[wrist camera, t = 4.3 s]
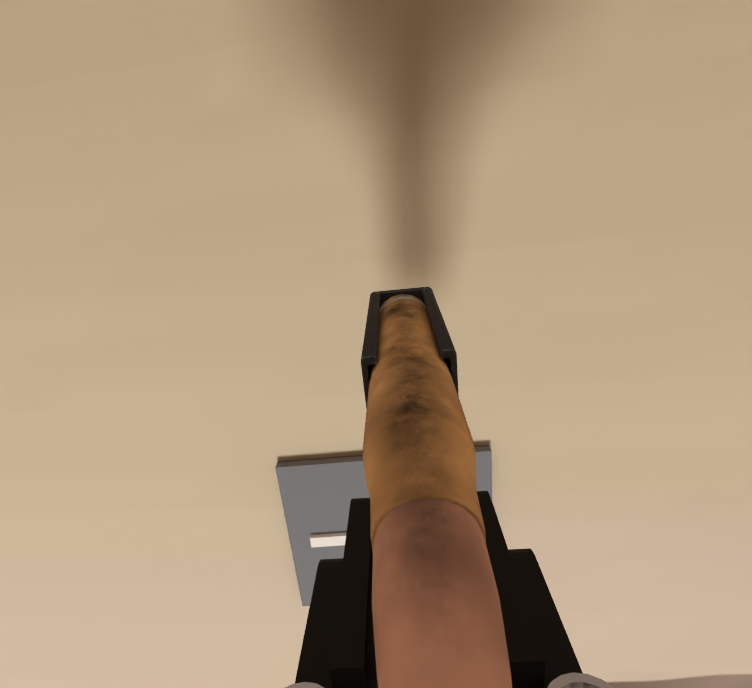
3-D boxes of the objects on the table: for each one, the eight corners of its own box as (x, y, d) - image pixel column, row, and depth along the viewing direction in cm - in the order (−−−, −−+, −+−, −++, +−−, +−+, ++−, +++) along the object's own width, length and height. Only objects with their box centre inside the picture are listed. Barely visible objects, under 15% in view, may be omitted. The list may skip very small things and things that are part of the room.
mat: (489, 445, 28) (492, 453, 27) (490, 586, 32) (493, 596, 31) (277, 462, 29) (274, 470, 28) (304, 598, 33) (301, 609, 32)
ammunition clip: (449, 565, 16) (584, 1400, 5) (399, 567, 16) (423, 1389, 5) (431, 285, 13) (721, 902, 2) (369, 291, 13) (241, 907, 2)
